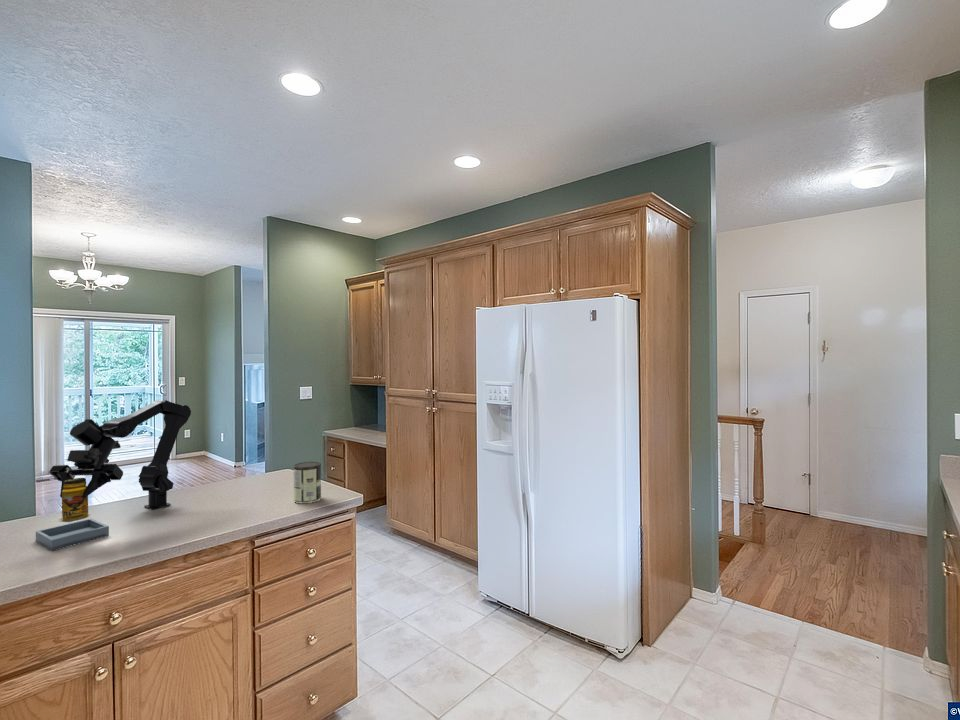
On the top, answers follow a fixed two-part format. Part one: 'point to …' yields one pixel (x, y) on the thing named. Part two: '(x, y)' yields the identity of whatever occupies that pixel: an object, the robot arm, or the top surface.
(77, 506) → the condiment
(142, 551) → the top surface
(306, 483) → the coffee can
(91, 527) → the bin
